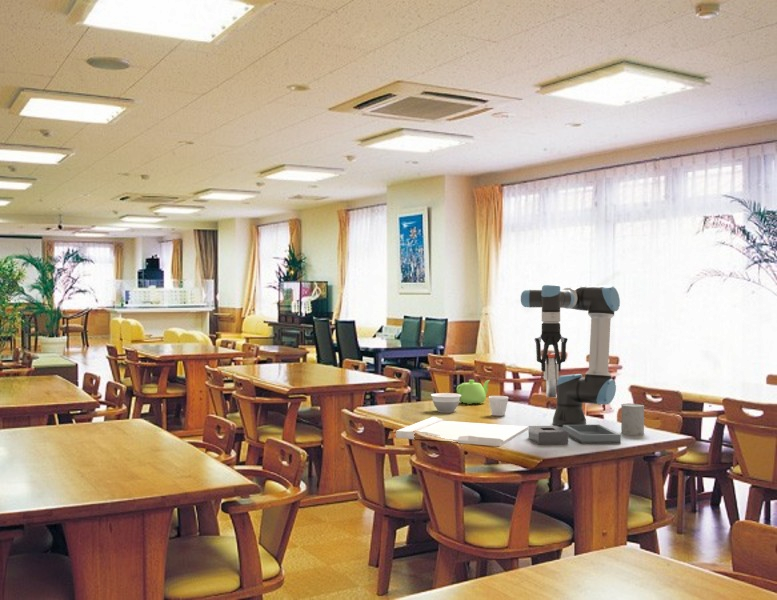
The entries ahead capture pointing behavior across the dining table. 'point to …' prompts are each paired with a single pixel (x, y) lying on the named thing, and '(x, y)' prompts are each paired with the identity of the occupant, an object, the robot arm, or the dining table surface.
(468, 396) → the teapot
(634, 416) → the grey cylinder
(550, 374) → the lynch pin
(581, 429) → the slate tray
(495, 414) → the cup
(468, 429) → the white flat slab
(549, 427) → the block
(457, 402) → the bowl
